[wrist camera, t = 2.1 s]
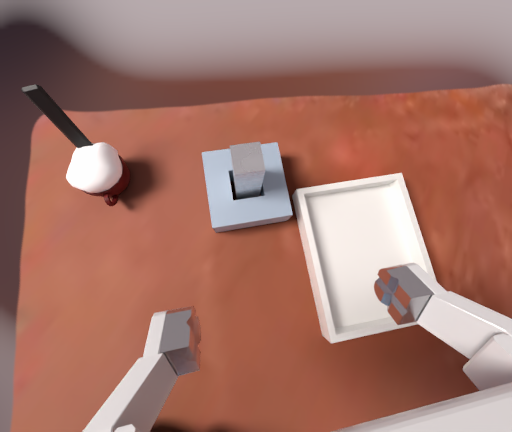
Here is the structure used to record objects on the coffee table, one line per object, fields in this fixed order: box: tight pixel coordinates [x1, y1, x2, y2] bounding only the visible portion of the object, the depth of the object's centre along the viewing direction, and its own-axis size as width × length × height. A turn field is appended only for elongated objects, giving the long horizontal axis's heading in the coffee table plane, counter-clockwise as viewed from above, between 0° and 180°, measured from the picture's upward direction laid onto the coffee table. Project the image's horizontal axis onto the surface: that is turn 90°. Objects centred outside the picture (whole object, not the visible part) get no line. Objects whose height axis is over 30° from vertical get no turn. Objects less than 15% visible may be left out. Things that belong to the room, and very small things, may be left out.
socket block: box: [202, 142, 293, 233], centre depth 31 cm, size 10×10×4 cm
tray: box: [292, 173, 437, 343], centre depth 30 cm, size 15×19×3 cm
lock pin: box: [230, 142, 265, 200], centre depth 27 cm, size 3×3×11 cm
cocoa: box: [22, 84, 130, 206], centre depth 26 cm, size 10×6×12 cm, turn 177°
